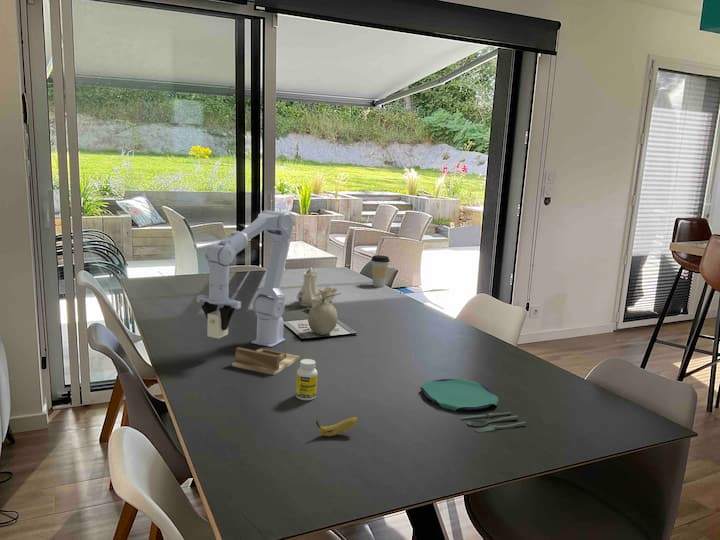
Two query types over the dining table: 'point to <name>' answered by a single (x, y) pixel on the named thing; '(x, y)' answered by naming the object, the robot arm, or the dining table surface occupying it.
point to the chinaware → (313, 290)
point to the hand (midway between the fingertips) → (218, 328)
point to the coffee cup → (379, 269)
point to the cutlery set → (466, 400)
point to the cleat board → (263, 360)
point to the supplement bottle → (306, 380)
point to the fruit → (323, 317)
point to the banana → (337, 427)
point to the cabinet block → (215, 325)
